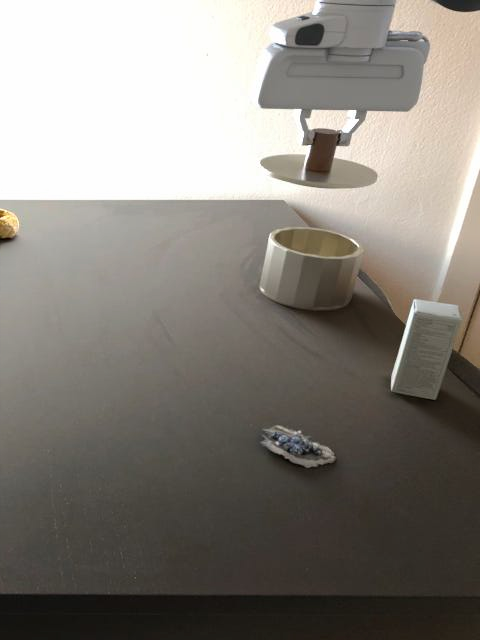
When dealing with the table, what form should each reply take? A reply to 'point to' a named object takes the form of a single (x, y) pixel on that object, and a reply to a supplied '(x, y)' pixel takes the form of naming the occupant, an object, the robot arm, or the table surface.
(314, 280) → the pot
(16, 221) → the bagel
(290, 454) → the blueberries
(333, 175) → the lid
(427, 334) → the box
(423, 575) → the table surface
